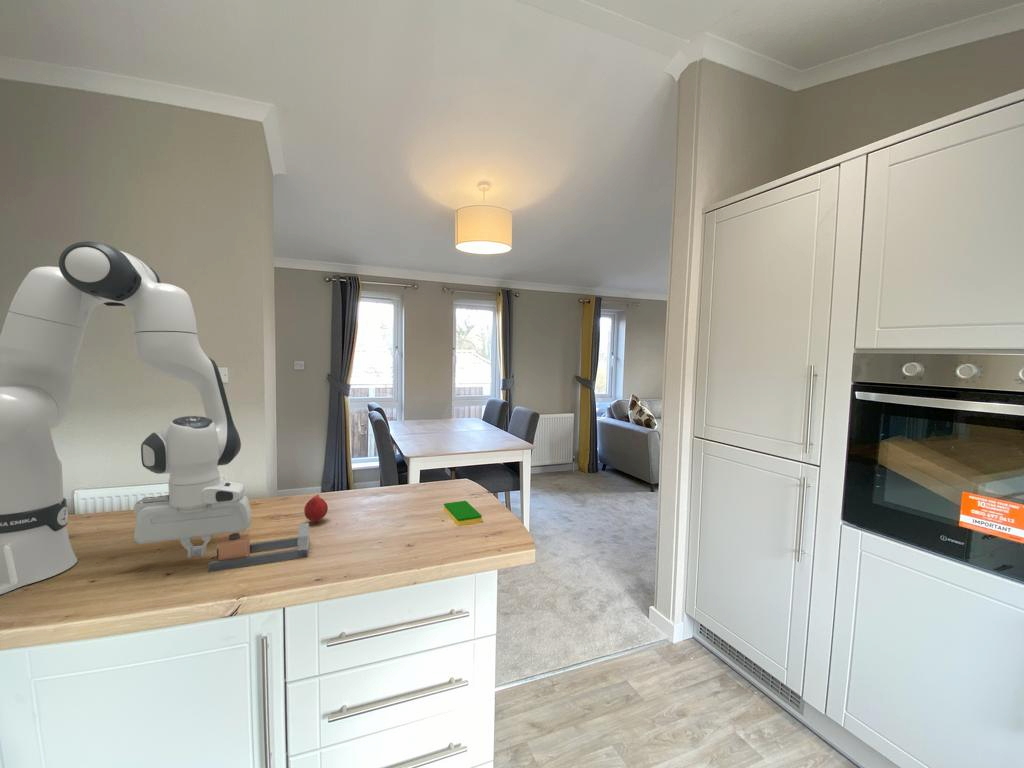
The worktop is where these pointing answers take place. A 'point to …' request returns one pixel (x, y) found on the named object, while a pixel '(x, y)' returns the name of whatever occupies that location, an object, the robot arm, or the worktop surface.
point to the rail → (301, 552)
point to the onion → (315, 509)
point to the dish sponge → (462, 513)
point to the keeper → (234, 546)
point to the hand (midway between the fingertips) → (197, 555)
